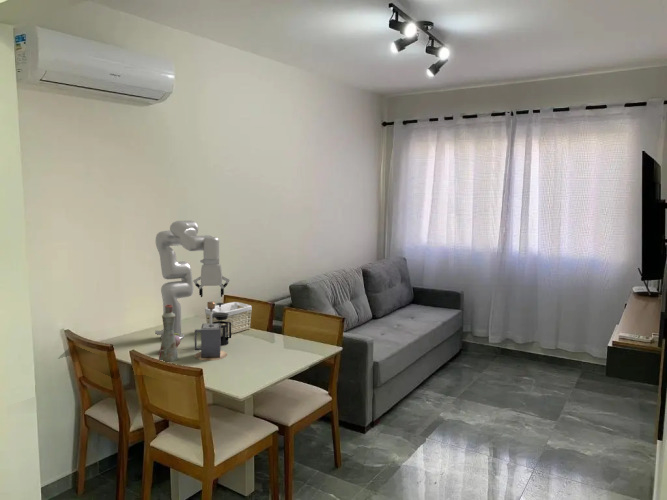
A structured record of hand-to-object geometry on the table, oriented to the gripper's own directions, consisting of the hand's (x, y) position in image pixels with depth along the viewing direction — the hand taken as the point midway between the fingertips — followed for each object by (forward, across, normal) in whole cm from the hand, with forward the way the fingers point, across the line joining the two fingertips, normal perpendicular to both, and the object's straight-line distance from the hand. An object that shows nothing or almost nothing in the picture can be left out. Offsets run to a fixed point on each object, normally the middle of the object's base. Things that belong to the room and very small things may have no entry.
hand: (211, 296), depth 250 cm
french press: (+31, +4, +20) cm, 37 cm away
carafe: (+30, -2, +1) cm, 30 cm away
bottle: (+31, -20, -3) cm, 37 cm away
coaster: (+31, 0, +1) cm, 31 cm away
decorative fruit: (+31, -22, +12) cm, 39 cm away
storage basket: (+31, +7, +47) cm, 56 cm away
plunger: (+22, 0, +1) cm, 22 cm away
